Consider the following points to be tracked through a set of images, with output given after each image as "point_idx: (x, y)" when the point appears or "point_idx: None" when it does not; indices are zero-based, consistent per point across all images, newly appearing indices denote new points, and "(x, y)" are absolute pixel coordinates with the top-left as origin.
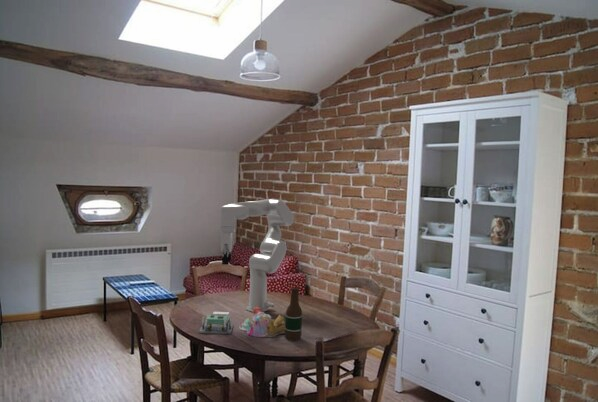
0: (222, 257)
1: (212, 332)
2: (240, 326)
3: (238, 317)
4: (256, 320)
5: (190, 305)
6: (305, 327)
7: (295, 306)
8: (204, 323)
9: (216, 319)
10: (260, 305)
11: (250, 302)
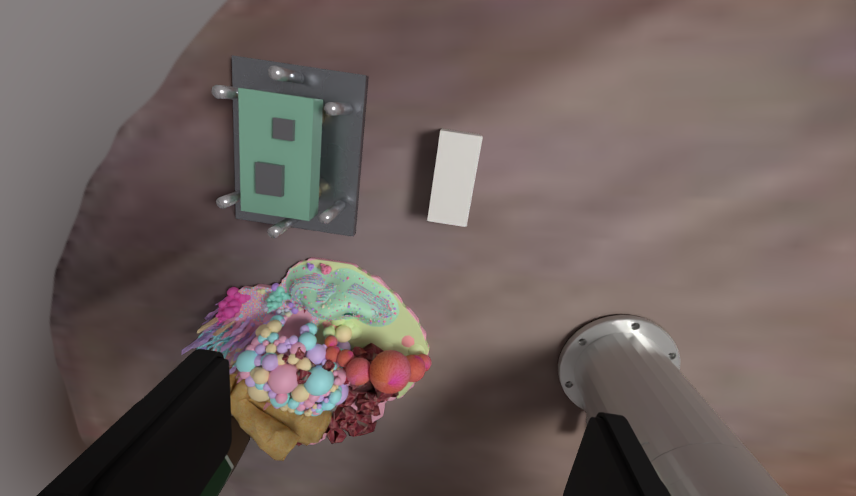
0: (77, 468)
1: (236, 130)
2: (308, 266)
3: (487, 265)
4: (245, 350)
5: None
6: (341, 490)
7: None
8: (357, 82)
9: (240, 154)
10: (581, 391)
11: (618, 353)
